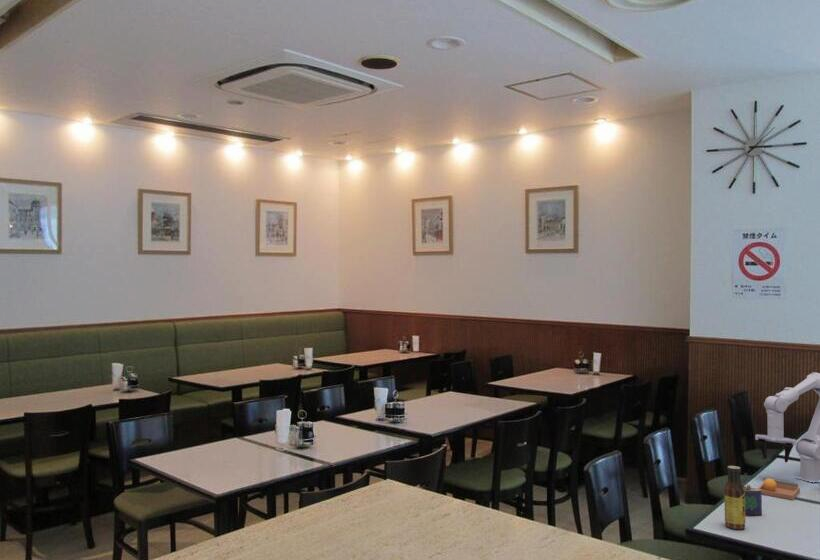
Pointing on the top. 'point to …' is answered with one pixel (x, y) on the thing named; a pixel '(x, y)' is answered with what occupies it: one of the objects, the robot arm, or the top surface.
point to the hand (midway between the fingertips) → (775, 460)
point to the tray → (781, 492)
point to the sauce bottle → (734, 499)
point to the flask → (753, 501)
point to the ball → (770, 484)
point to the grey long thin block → (784, 483)
